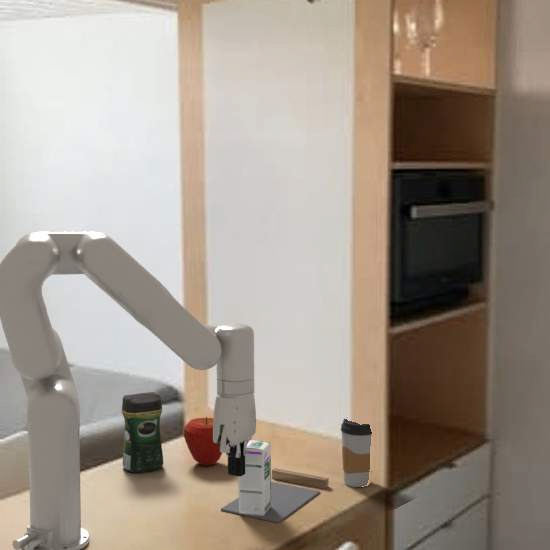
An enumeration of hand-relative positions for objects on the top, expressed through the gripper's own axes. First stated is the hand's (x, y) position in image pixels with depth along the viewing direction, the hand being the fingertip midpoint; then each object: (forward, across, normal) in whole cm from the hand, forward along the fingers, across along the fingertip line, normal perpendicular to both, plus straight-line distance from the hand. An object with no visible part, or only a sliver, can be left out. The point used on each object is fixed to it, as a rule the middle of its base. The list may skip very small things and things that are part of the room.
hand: (236, 474), depth 178 cm
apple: (+11, -30, -26) cm, 41 cm away
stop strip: (+11, -29, 0) cm, 31 cm away
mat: (+11, -16, 0) cm, 19 cm away
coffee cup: (+12, -36, +12) cm, 39 cm away
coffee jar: (+11, -20, -38) cm, 44 cm away
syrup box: (+11, -8, -1) cm, 14 cm away
